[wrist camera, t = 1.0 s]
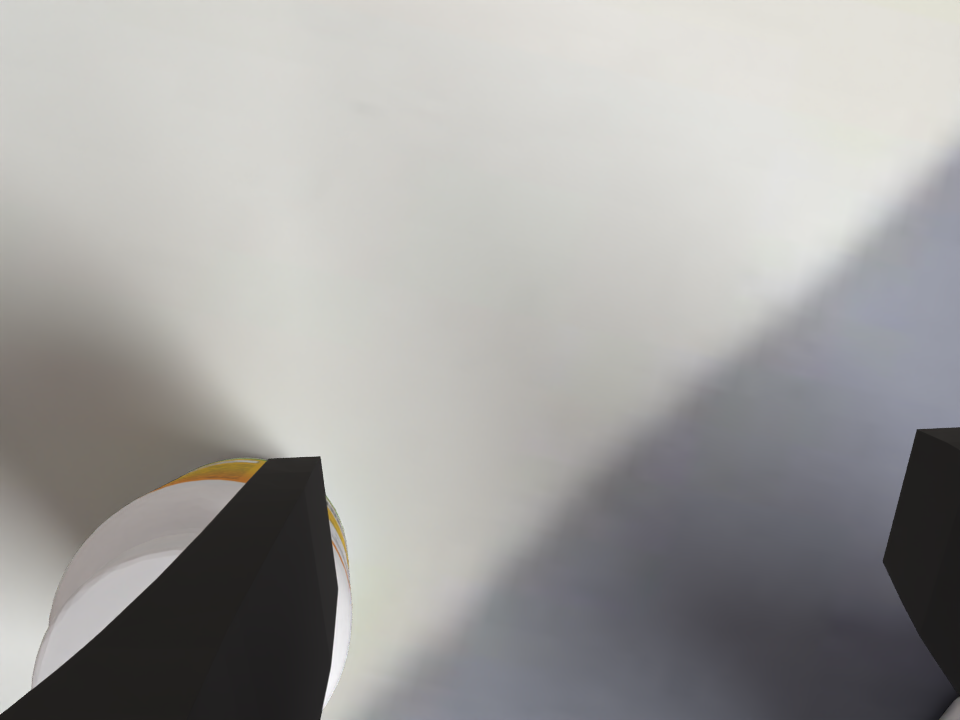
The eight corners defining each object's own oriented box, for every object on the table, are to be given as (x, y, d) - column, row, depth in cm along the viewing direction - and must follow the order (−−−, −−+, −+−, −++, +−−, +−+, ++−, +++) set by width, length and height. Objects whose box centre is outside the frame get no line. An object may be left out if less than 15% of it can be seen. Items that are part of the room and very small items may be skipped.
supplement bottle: (97, 605, 21) (-105, 781, 11) (204, 420, 21) (97, 437, 12) (285, 693, 21) (246, 930, 12) (383, 512, 22) (419, 597, 13)
